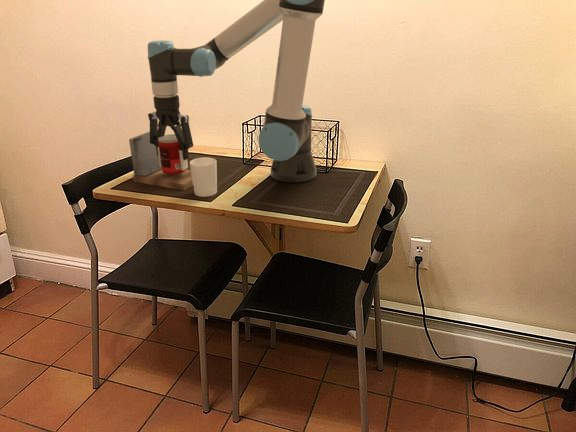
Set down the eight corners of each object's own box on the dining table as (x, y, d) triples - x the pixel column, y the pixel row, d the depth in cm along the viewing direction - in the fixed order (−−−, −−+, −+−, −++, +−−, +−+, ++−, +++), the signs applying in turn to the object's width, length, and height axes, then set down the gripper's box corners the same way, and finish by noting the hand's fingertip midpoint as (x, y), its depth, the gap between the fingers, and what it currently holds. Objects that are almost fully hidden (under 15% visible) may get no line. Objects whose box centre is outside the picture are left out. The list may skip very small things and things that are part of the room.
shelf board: (206, 178, 162) (205, 172, 162) (184, 190, 153) (184, 184, 152) (157, 170, 170) (156, 164, 169) (133, 181, 160) (132, 175, 160)
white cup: (198, 199, 146) (195, 167, 142) (188, 191, 152) (185, 160, 148) (223, 194, 150) (220, 162, 145) (212, 186, 156) (209, 155, 152)
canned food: (189, 167, 162) (186, 134, 158) (182, 175, 155) (178, 141, 151) (166, 166, 163) (162, 133, 159) (158, 174, 156) (154, 140, 151)
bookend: (167, 166, 167) (163, 132, 162) (145, 177, 158) (140, 140, 153) (156, 165, 169) (151, 130, 164) (134, 175, 160) (129, 139, 155)
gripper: (201, 95, 148) (207, 167, 158) (146, 90, 156) (155, 160, 166) (186, 99, 142) (193, 175, 152) (130, 95, 150) (140, 166, 160)
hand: (174, 167), depth 159 cm, fingers closed on canned food, 8 cm apart
